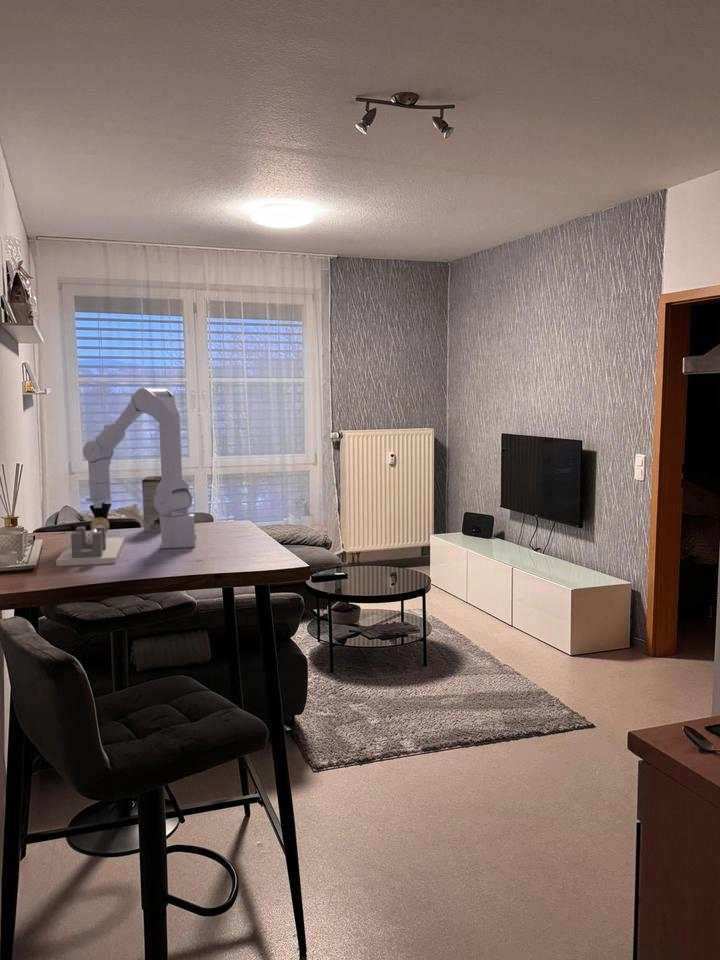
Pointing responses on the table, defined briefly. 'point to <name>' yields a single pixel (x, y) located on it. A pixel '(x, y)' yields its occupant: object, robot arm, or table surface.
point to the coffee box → (150, 504)
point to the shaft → (96, 522)
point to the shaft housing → (91, 548)
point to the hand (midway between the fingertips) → (101, 529)
